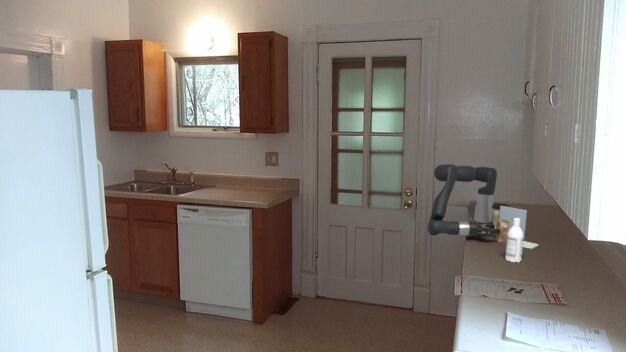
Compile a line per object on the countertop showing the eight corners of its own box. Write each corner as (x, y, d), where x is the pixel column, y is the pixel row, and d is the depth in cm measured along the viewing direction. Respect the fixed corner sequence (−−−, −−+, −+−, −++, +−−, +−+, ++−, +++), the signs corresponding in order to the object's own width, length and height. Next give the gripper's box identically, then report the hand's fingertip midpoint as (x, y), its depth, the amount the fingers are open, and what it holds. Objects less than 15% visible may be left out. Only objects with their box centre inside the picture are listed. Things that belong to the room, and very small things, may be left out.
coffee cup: (488, 231, 281) (490, 205, 279) (491, 227, 290) (493, 202, 288) (507, 234, 277) (509, 207, 274) (509, 230, 286) (511, 204, 283)
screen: (496, 235, 274) (498, 206, 272) (501, 233, 279) (503, 205, 276) (521, 240, 265) (524, 211, 262) (526, 238, 269) (528, 209, 266)
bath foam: (516, 257, 236) (520, 216, 233) (524, 262, 230) (528, 220, 226) (502, 258, 236) (506, 216, 232) (509, 263, 229) (513, 220, 226)
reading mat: (513, 244, 257) (513, 243, 257) (521, 241, 263) (521, 240, 263) (531, 249, 251) (531, 247, 251) (538, 245, 257) (538, 244, 257)
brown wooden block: (498, 242, 261) (500, 221, 259) (495, 239, 266) (496, 219, 264) (506, 242, 261) (508, 222, 259) (503, 239, 266) (505, 219, 264)
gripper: (471, 225, 255) (502, 225, 255) (463, 218, 269) (493, 218, 269) (470, 239, 256) (501, 240, 256) (462, 231, 270) (492, 232, 270)
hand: (497, 229), depth 262 cm, fingers open, 8 cm apart
